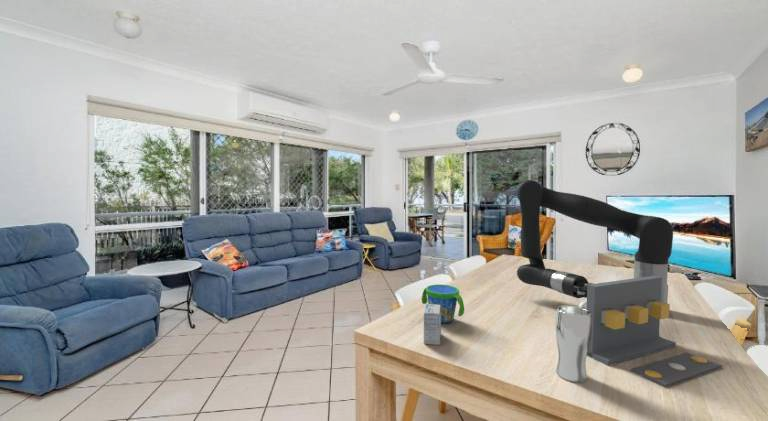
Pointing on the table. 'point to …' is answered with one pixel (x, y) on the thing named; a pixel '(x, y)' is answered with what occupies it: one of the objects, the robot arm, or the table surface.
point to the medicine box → (432, 324)
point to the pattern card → (675, 369)
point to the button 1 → (609, 317)
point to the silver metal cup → (573, 342)
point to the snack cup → (444, 300)
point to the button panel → (634, 337)
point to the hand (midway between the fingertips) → (620, 298)
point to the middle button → (636, 314)
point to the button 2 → (658, 309)
